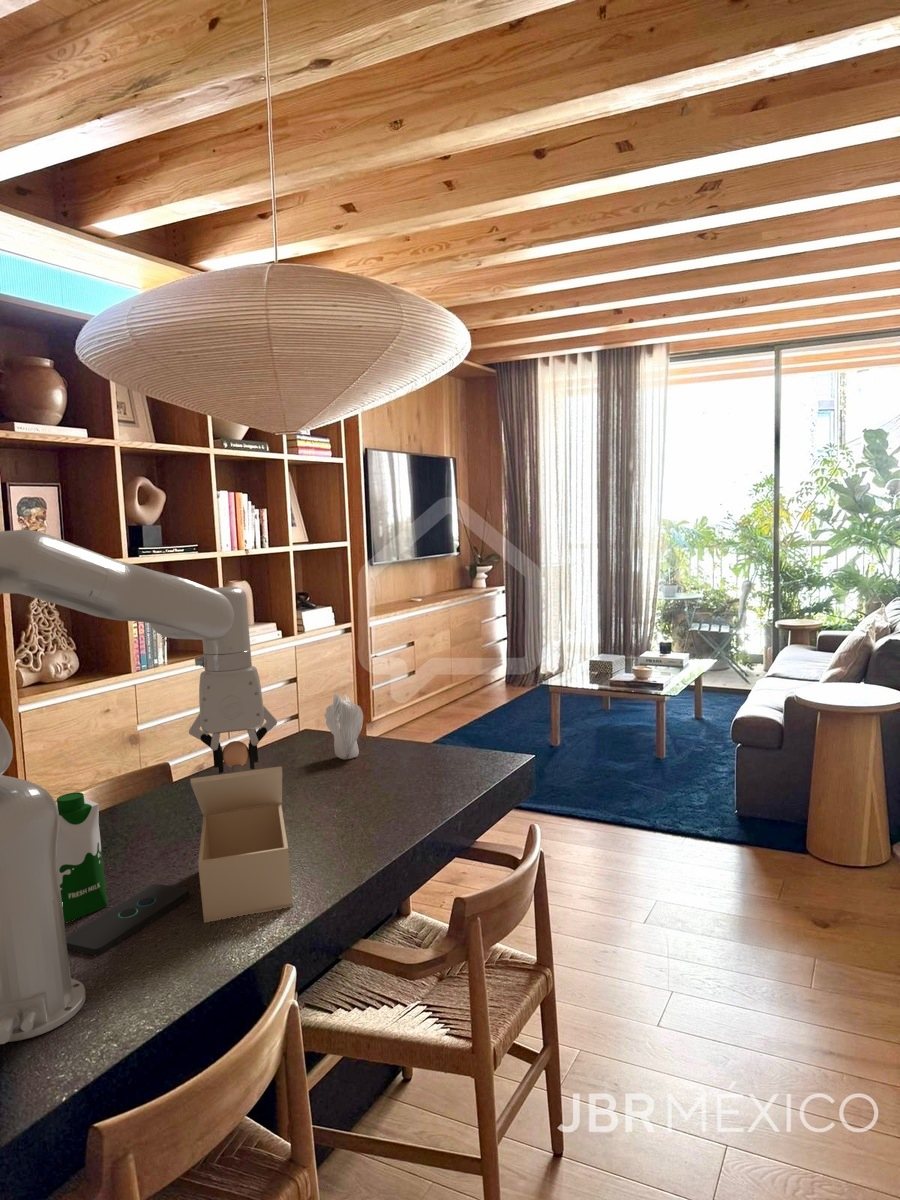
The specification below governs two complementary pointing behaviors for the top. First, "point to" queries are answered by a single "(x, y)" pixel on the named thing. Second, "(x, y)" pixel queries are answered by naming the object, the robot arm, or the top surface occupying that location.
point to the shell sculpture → (344, 726)
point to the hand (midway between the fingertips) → (236, 768)
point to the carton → (244, 863)
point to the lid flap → (238, 784)
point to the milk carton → (80, 857)
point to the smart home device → (125, 919)
